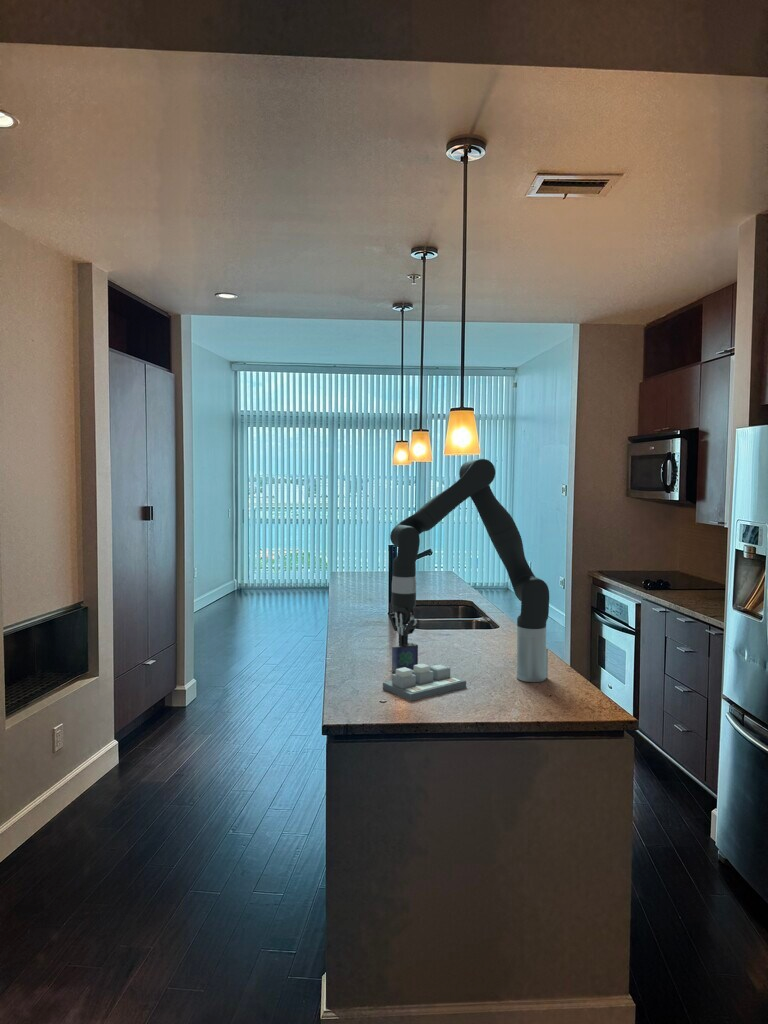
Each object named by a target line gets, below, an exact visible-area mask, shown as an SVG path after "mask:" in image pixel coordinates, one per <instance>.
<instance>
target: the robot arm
mask: <svg viewBox="0 0 768 1024" xmlns="http://www.w3.org/2000/svg"><path fill="white" fill-rule="evenodd" d="M458 472H459V473H458V474H459V479H457V481H456V482H454V483H453V484H452V485H450V486H449V487H447V488H446V489H444V490H443V491H442V492H440V493H438V494H437V495H435V496H434V497H432V498H431V499H429V500H428V501H427V502H426V503H425V504H423V505H422V507H420V508H419V509H418V510H417V511H416V512H415V513H413V514H412V515H409V516H408V517H407V518H405V519H403V520H402V521H400V522H399V523H397V524H396V525H395V526H394V527H393V529H391V532H390V534H389V537H390V539H389V540H390V543H392V545H394V546H395V547H396V548H397V555H396V557H394V558H393V561H392V580H391V606H392V607H393V609H392V610H393V612H392V613H388V618H389V620H390V623H391V625H392V628H393V631H395V632H396V633H397V635H398V645H399V646H400V647H407V645H408V643H409V635H411V634H413V633H414V631H416V628H417V626H418V625H419V622H420V620H419V619H418V618H415V612H414V608H415V607H416V606H417V577H416V573H417V572H416V571H417V565H416V563H417V559H418V555H419V549H420V544H421V543H420V542H421V540H420V534H422V533H424V532H428V531H430V530H432V529H433V528H434V527H435V526H437V525H438V524H439V523H440V522H441V521H442V520H443V519H444V518H446V516H448V515H449V514H450V513H452V512H453V510H454V509H456V508H457V507H458V506H459V505H461V504H462V503H463V502H465V501H466V500H467V499H469V498H470V499H471V500H472V503H473V505H474V506H475V508H476V510H477V512H478V515H479V517H480V519H481V522H482V523H483V525H484V528H485V530H486V532H487V535H488V536H489V539H490V541H491V543H492V545H493V547H494V548H495V550H496V553H497V555H498V558H499V559H500V560H501V562H502V564H503V566H504V567H505V569H506V573H507V574H508V579H509V580H510V583H511V587H512V589H513V592H514V594H515V596H516V598H517V599H518V601H520V614H519V615H518V616H517V620H516V678H517V680H520V681H521V682H526V683H527V682H528V683H541V682H544V681H546V679H548V678H549V676H548V674H549V670H548V669H549V668H548V667H549V661H548V660H549V649H548V648H547V621H548V619H549V616H550V615H549V613H550V612H549V611H550V590H549V586H548V583H546V581H544V580H543V579H541V578H539V577H537V576H536V575H535V574H534V572H533V571H532V569H531V567H530V565H529V563H528V561H527V559H526V556H525V550H524V544H523V539H522V536H521V533H520V531H519V529H518V527H517V525H516V522H515V520H514V519H513V517H512V515H511V514H510V513H509V512H508V510H507V509H506V508H505V507H504V506H503V505H502V504H501V503H500V502H499V500H498V499H497V498H496V496H495V495H494V493H493V491H492V489H491V488H492V487H491V486H490V485H491V484H492V482H493V481H494V480H495V476H496V467H495V466H494V464H493V463H492V462H491V461H490V460H489V459H487V458H486V459H485V458H475V459H474V458H473V459H470V460H467V461H465V462H463V463H462V465H460V469H459V471H458Z"/></svg>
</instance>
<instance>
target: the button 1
mask: <svg viewBox="0 0 768 1024" xmlns="http://www.w3.org/2000/svg"><path fill="white" fill-rule="evenodd" d="M395 674H396V675H397V676H399V677H402V678H404V677H409V676H412V670H411V669H409V668H406V667H403V668H399V669H396V673H395Z"/></svg>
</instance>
